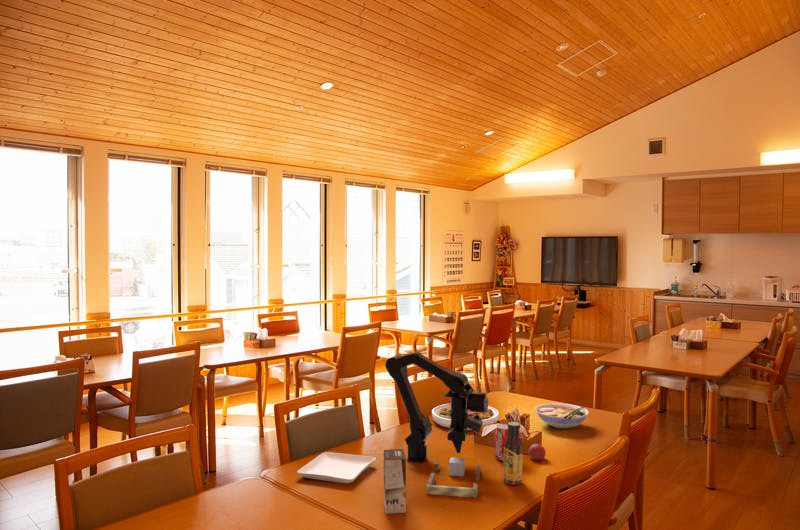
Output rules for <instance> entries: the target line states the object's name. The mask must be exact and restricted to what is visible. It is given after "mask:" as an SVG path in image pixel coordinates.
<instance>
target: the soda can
mask: <svg viewBox="0 0 800 530" xmlns="http://www.w3.org/2000/svg"><path fill="white" fill-rule="evenodd" d="M507 436H508V423H506V424H505V423H504V424H501V423H500V424H497V425H496V428H495V430H494V456H495V458H496V459H498V460H499V461H501V462H503V457H504V445H505V442H506V439H507Z"/></svg>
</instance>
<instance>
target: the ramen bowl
mask: <svg viewBox="0 0 800 530" xmlns="http://www.w3.org/2000/svg"><path fill="white" fill-rule="evenodd" d="M585 407H586V404H584V405H582V406H579V405H574V404H570V403H560V402H559V403H543V404H540V405H539V404H538V405H536V406H535V407H534V410H535V412H536V414H537V415H538V417H539V419H540V420H541V421H542V422H543V423H545V424H547V425H549V426H552V427H553V428H554V429H557V430H558V429H559V430H569V429H570V428H574V427H576V426H579V425H580V424H582V423H583V422H584V421H585V420H586V418H587V416H588V414H589V413H590V412H589V410H588V409H587V408H585Z"/></svg>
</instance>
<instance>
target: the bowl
mask: <svg viewBox="0 0 800 530" xmlns="http://www.w3.org/2000/svg"><path fill="white" fill-rule="evenodd" d="M467 412H468V416H475V415H476V414H477V415H479V416H480V420H482V421H483V424H482V425H486V424H493V423H495V424H496V423H497V422H498V420H499V417H500V411H499V410H498V409H496V408H495V407H492V406H489V405H488V410H487V412H486V413H483V412H474V411H470V410H469V409H468V408H467ZM450 413H451V403H446V404H445V403H444V404H441V405H440V404H439V405H438V406H436V407H434V408H433V409H432V410H431V416H432V419H433V420H434V422H435V423H437V424H438V425H439V426H441V427H444V428H447V429H450V430H451V429H453V428H450V424H451V417H450ZM464 430H465V431H473V430H472V429H470V428H467V429H464Z"/></svg>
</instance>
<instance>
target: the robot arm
mask: <svg viewBox="0 0 800 530" xmlns="http://www.w3.org/2000/svg"><path fill="white" fill-rule="evenodd" d="M411 365H415V366H416V367H419V368H420V369H422V370H424V371H425V372H427V373H429V374H430V375H431V376H434V377H435V378H437V379H439V380H440V381H441V382H442V383H443V384H444V386H446V387H447V388H448V389H449V390H448V392H447V393H446V394H444V397H446V398H450V404H451V413H450V417H451V424H450V428H453V429H450V428H449V429H450V430H448V432H447V435H446V436H447V437H446V438H447V441H451V442H452V444H453V446H454V449H455V451H456V453H457V454H461V451H462V446H463V442H466V441H467V435H468V432H469V430H464V429H467V428H470V429H472V430H471V431H475V433H480V431H481V430H482V429H481V427H482V424H483V421H482V420H480V416H479V415H477V414H476V415H475V416H468V412H467V408H468V409H469V410H470V411H474V412H483V413H486V412H487V410H488V406H489V400H488V396H487V392H476V391H475V390H474V388H473V387H472V386H471V384H470V383H469V379H468V376H467V375H466V374H464V373H462V372H459V371H456V370H452V369H448V368H446V367H444V366H443V365H442V364H440V363H437V362H435V361H434V360H432V359H431V358H429V357H428V356H426V355H424V354H423V353H421V352H420V351H414V352H411V353H408V354H405V355H401V354H396V355H394V356H391V357H389V358H388V359H386V362H385V365H384V367H385V369H386V371H387V373H388V374H389V376H390V377H391V378H392V379H393V381H395V383H396V387H397V389H398V390H399V393H400V394H399V395H400V396H401V399H402V402H403V404H404V407H405V409H406V413H407V415H408V417H409V429H410V434H409V435H408V436H407V437H405V439H404V440H405V443H406V445H407V457H406V462H421V463H424V462H425V461H426V459H427V457H428V445H426V440H428V438H429V436H430V435H431V433H432V431H433V428H432V426H433V423H432V422H431V420H430V416H429V415H426V416H425V415H424V414H423V413H422V411H421V407H420V405H419V403H418V401H417V398H416V396H415V393H414V391H413V388H412V385H411V382H410V381H409V378H408V366H411Z"/></svg>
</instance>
